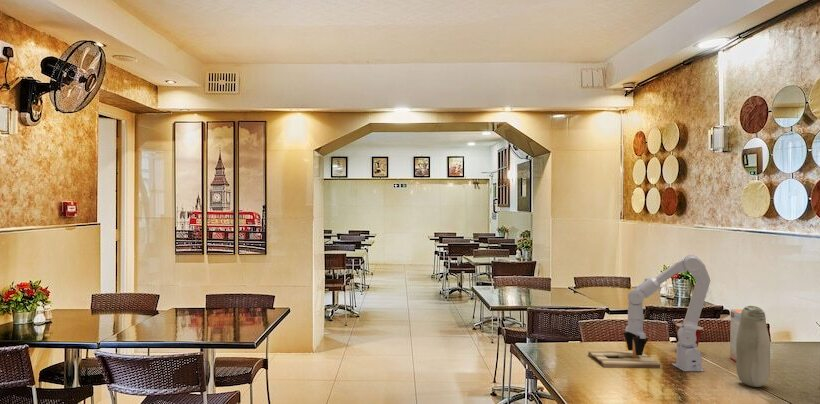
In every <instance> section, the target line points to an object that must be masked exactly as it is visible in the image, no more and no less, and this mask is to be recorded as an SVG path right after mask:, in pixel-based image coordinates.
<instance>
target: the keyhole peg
mask: <svg viewBox="0 0 820 404" xmlns="http://www.w3.org/2000/svg"><path fill="white" fill-rule="evenodd" d="M632 351H633V358H639V355H636V350H635V344H634V340H633V350H632Z"/></svg>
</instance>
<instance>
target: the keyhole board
mask: <svg viewBox="0 0 820 404" xmlns="http://www.w3.org/2000/svg"><path fill="white" fill-rule="evenodd" d="M587 351H588V352H587V356H588V357H590V358H595V359H597V360H598V361H599V362H601V366H602V367H603V368H618V369H619V368H622V369H623V368H624V369H626V368H627V369H633V368H634V369H661V363H660V362H659V361H658V360H656V359H654V358H652V357H650V355H647V354H645V353H644V352H643V353H642V355H639V358H633V350H587Z"/></svg>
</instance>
